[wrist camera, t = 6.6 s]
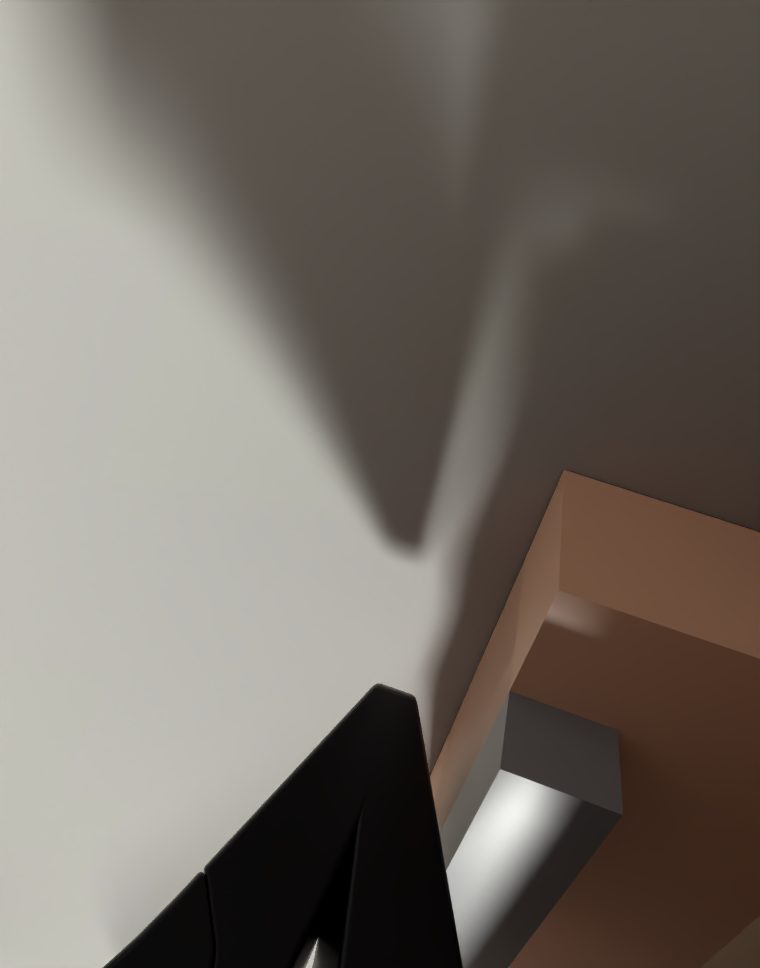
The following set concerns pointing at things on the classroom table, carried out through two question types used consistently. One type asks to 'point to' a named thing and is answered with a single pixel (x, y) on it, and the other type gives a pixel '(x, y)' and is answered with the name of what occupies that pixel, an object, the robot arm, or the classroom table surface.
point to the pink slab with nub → (610, 744)
